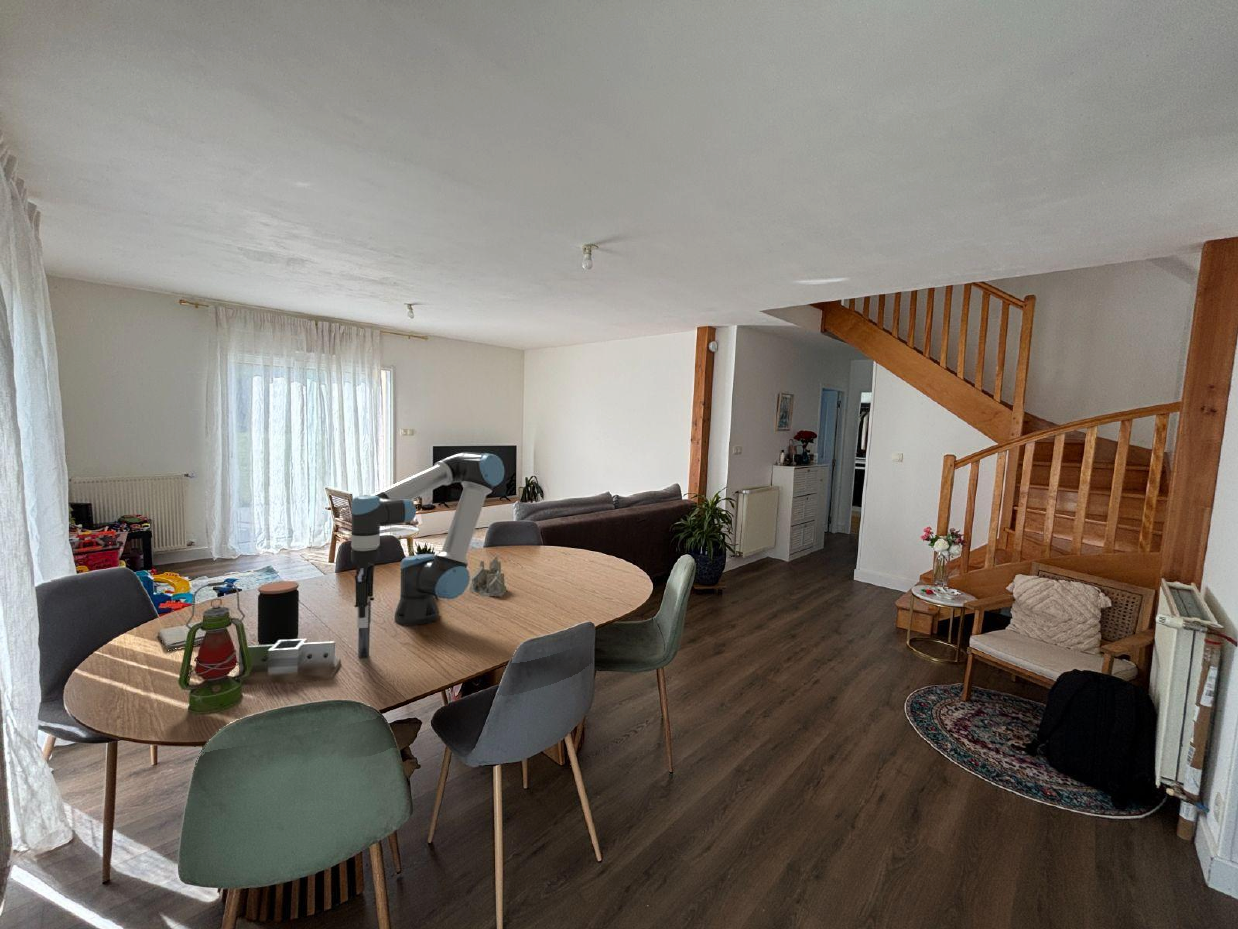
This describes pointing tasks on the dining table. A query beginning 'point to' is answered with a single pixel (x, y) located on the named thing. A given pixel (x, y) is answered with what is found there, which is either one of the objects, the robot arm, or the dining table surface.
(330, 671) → the hinge board
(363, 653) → the pin
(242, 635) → the lantern
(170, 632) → the washcloth
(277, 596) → the coffee jar
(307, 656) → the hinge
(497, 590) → the ceramic cottage
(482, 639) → the dining table surface
